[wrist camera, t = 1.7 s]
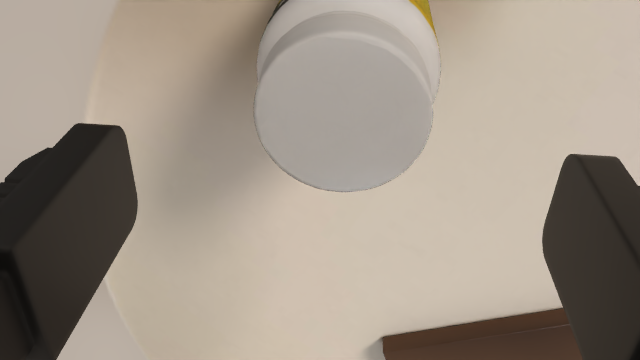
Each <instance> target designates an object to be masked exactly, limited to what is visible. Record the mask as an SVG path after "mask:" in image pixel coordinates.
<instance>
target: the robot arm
mask: <svg viewBox="0 0 640 360" xmlns="http://www.w3.org/2000/svg"><path fill="white" fill-rule="evenodd" d="M137 206H138V201H137V192H136V187H135V182H134V176H133V171H132V165H131V160H130V155H129V149H128V144H127V139H126V135H125V132H124V131H123V129H122V128H121V127H120V126H117V125H100V124H84V123H78V124H76V125H74V126H73V127H72V128H71V129H70V130H69V131H68V132H67V133H66V134H65V135H64V136H63V137H62V139H61V140H60V141H59V142H58V143H57V144H56V145H55V146H54V147H53V148H46V149H45V150H43V151H41V152H39V153H37V154H35V155H33V156H31V157H30V158H28V159H26V160H24V161H22V162H21V163H20V164H19V165H18V166H17V167H16V168H15V169H14V170H13V171H12V172H11V173H10V174H9V175H8V176H7V177H6V178H5V182H1V183H0V360H56V359H57V357H58V356H59V354H60V352H61V350H62V349H63V347H64V345H65V343H66V342H67V340H68V338H69V337H70V335H71V333H72V331H73V330H74V328H75V326H76V325H77V323H78V321H79V319H80V318H81V316H82V314H83V312H84V311H85V309H86V307H87V305H88V304H89V302H90V300H91V299H92V297H93V295H94V293H95V292H96V290H97V288H98V287H99V285H100V283H101V281H102V280H103V278H104V276H105V275H106V273H107V271H108V269H109V268H110V266H111V264H112V263H113V261H114V259H115V257H116V256H117V254H118V252H119V250H120V249H121V247H122V245H123V244H124V242H125V240H126V238H127V237H128V235H129V233H130V232H131V230H132V228H133V226H134V223H135V220H136V215H137ZM542 244H543V253H544V258H545V261H546V263H547V266H548V269H549V271H550V274H551V276H552V279H553V282H554V284H555V287H556V290H557V292H558V295H559V298H560V300H561V303H562V306H563V308H564V311H565V313H566V316H567V319H568V321H569V324H570V327H571V329H572V332H573V335H574V337H575V340H576V342H577V345H578V348H579V350H580V353H581V356H582V358H583V360H640V186H638V185H637V184H636V183H635V181H634V180H633V178H632V177H631V175H630V174H629V173H628V171H627V170H626V168H625V167H624V165H623V164H622V163H621V161H620V160H619V159H618V158H617V157H614V156H597V155H580V154H570V155H568V156H567V157H566V159H565V161H564V163H563V165H562V168H561V171H560V174H559V178H558V181H557V184H556V188H555V191H554V194H553V197H552V201H551V204H550V207H549V211H548V214H547V217H546V220H545V224H544V229H543V238H542Z"/></svg>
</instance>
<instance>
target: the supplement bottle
mask: <svg viewBox="0 0 640 360" xmlns="http://www.w3.org/2000/svg"><path fill="white" fill-rule="evenodd" d="M440 73H441V57H440V50H439V45H438V41H437V37H436V33H435V30H434V26H433V21H432V17H431V13H430V8H429V3H428V0H280V1H279V3H278V5H277V7H276V8H275V10H274V12H273V15H272V16H271V18H270V20H269V22H268V24H267V26H266V28H265V31H264V33H263V35H262V38H261V41H260V45H259V50H258V57H257V79H258V86H257V89H256V93H255V98H254V120H255V126H256V130H257V133H258V136H259V139H260V141H261V143H262V145H263V147H264V149H265V150H266V152H267V153H268V155H269V156H270V157H271V158H272V160H273V161H274V162H275V163H276V164H277V165H278V166H279V167H280V168H281V169H282V170H283V171H285V172H286V173H287V174H289V175H290V176H292V177H293V178H295V179H296V180H298V181H300V182H302V183H304V184H307V185H310V186H312V187H315V188H318V189H323V190H327V191H335V192H355V191H362V190H367V189H371V188H375V187H378V186H381V185H383V184H385V183H387V182H389V181H391V180H393V179H394V178H396V177H398V176H399V175H400V174H402V173H403V172H404V171H406V170H407V169H408V168H409V167H410V166H411V165H412V164H413V163H414V161H415V160H416V159H417V158H418V156H419V155H420V153H421V152H422V150H423V149H424V147H425V145H426V143H427V140H428V137H429V134H430V131H431V127H432V121H433V103H434V101H435V98H436V95H437V92H438V87H439V82H440Z"/></svg>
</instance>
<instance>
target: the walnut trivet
mask: <svg viewBox="0 0 640 360" xmlns="http://www.w3.org/2000/svg"><path fill="white" fill-rule="evenodd" d="M383 354H384V356H385V359H386V360H583V358H582V356H581V353H580V350H579V348H578V345H577V342H576V340H575V337H574V335H573V332H572V329H571V327H570V324H569V321H568V319H567V316H566V313H565V311H564V308H562V309H556V310H550V311H544V312H537V313H531V314H525V315H519V316H512V317H506V318H500V319H494V320H487V321H481V322H475V323H469V324H462V325H456V326H450V327H444V328H437V329H431V330H425V331H419V332H412V333H406V334H400V335H394V336H387V337H383Z"/></svg>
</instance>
